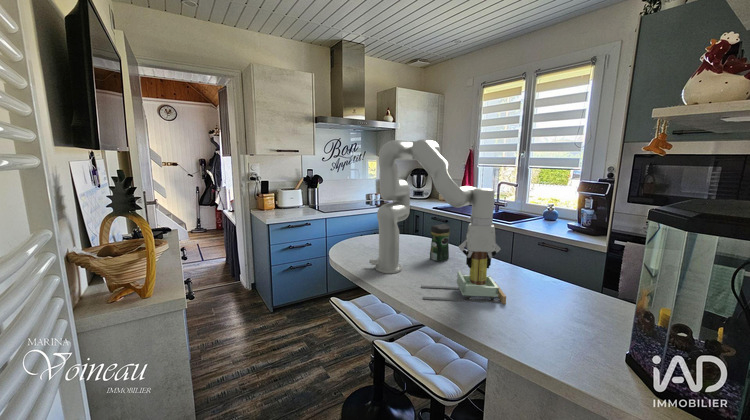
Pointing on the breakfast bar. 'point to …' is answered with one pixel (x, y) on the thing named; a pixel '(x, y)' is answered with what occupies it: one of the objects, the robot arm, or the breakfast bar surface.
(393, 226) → the robot arm
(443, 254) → the coffee jar
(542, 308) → the breakfast bar surface
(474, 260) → the sauce bottle
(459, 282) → the cart
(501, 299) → the track
